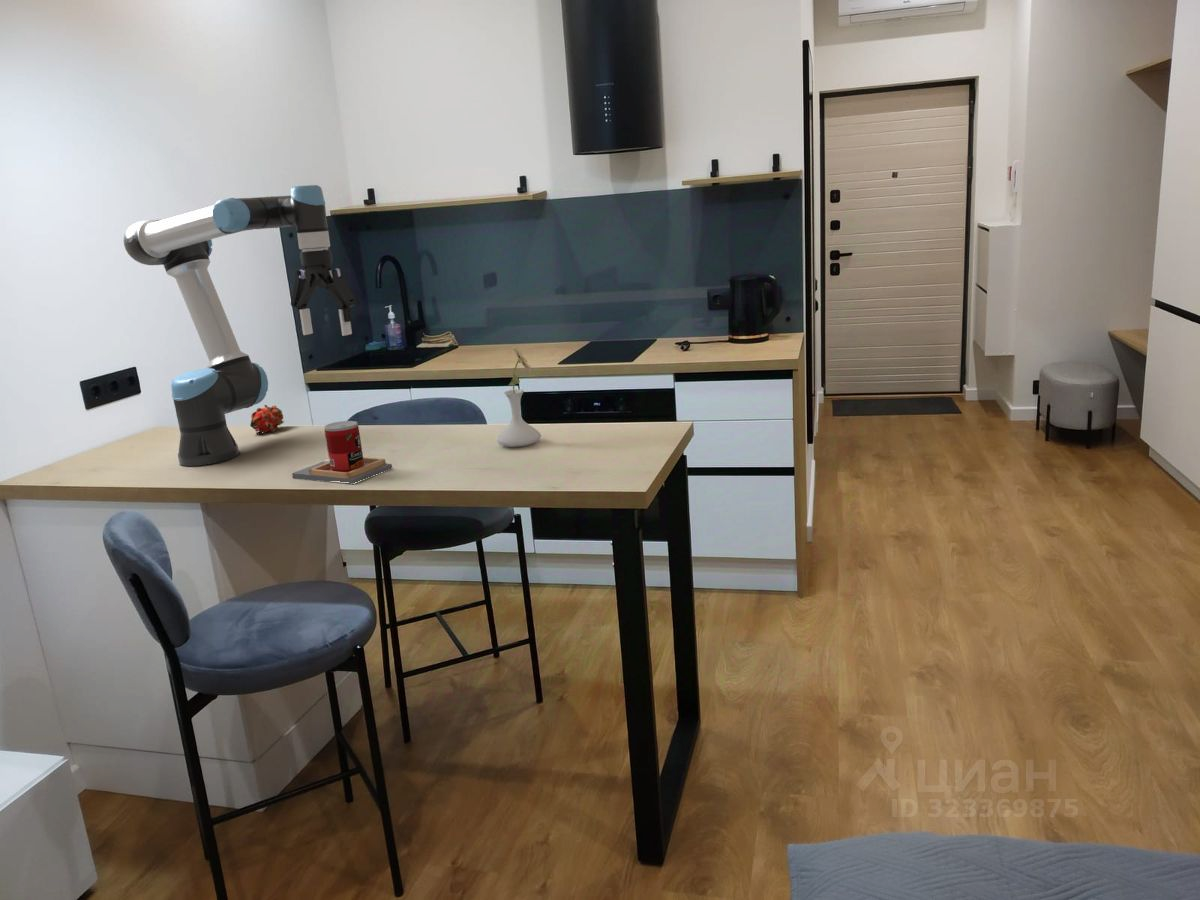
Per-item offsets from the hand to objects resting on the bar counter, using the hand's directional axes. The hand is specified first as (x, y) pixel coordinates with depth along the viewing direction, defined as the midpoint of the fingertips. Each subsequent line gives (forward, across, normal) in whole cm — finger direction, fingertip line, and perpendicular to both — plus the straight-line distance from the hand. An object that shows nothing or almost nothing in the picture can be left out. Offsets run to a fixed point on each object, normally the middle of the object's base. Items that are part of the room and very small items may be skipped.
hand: (327, 334), depth 237 cm
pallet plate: (+31, -15, +16) cm, 38 cm away
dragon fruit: (+32, +43, -13) cm, 55 cm away
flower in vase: (+30, -44, -18) cm, 57 cm away
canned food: (+30, -17, +16) cm, 38 cm away
